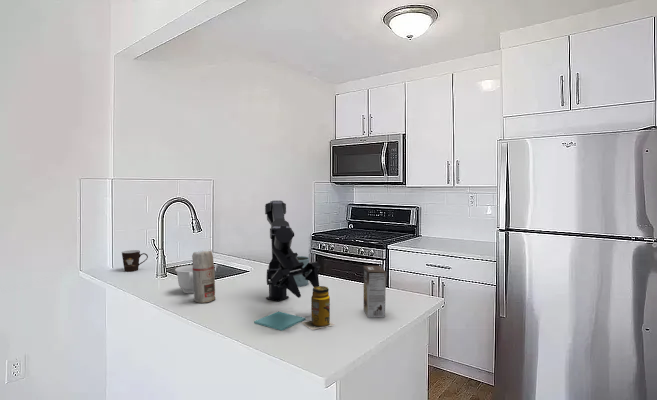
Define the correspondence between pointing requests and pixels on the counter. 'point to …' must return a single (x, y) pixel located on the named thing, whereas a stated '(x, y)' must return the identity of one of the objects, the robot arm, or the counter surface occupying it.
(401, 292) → the counter surface
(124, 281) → the counter surface
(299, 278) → the grey teal cup
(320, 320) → the condiment
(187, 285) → the teacup
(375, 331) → the counter surface
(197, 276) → the spray can
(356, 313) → the counter surface
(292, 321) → the mat
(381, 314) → the coffee box
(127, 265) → the coffee mug
